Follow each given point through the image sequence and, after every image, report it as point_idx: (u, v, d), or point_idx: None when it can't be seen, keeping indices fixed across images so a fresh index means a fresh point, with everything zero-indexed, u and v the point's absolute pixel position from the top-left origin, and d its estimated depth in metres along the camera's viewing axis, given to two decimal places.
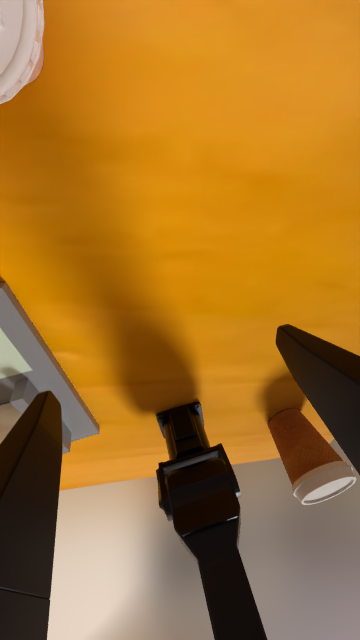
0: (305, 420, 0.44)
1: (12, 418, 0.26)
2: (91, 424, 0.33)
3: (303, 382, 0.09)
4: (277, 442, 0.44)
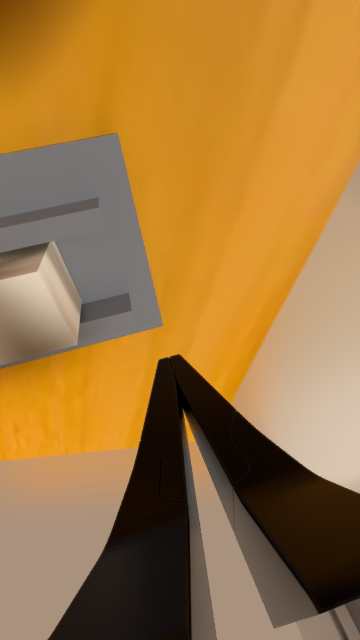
0: None
1: None
2: (75, 146, 0.14)
3: (187, 417, 0.09)
4: None
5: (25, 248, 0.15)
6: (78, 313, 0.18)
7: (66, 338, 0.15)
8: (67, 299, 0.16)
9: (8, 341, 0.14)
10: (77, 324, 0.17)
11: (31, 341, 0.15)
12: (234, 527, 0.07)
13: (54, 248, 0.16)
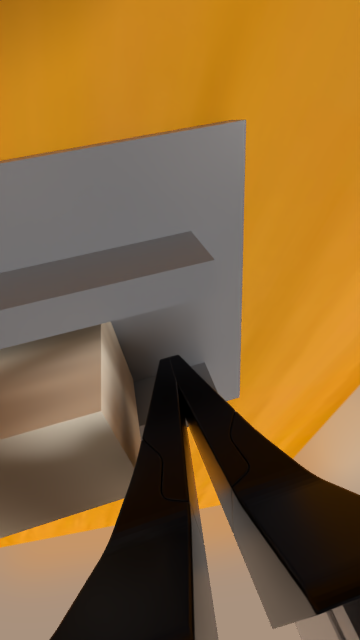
0: None
1: None
2: (168, 142, 0.08)
3: (186, 417, 0.09)
4: None
5: None
6: (136, 412, 0.11)
7: None
8: (127, 405, 0.09)
9: (31, 506, 0.08)
10: (139, 439, 0.10)
11: (72, 499, 0.08)
12: (233, 527, 0.07)
13: None
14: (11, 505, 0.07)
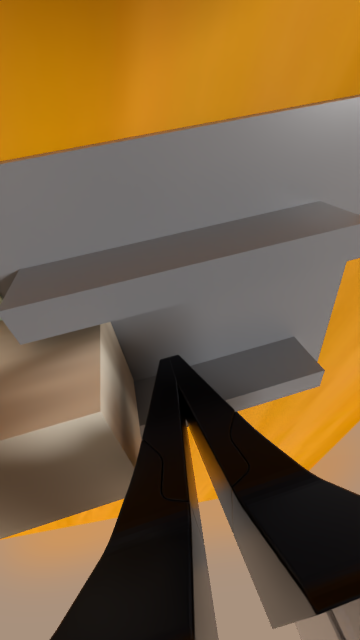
0: None
1: None
2: (325, 111, 0.08)
3: (186, 417, 0.09)
4: None
5: None
6: (136, 412, 0.11)
7: None
8: (127, 405, 0.09)
9: (32, 507, 0.08)
10: (140, 439, 0.10)
11: (72, 500, 0.08)
12: (233, 527, 0.07)
13: None
14: (12, 506, 0.07)
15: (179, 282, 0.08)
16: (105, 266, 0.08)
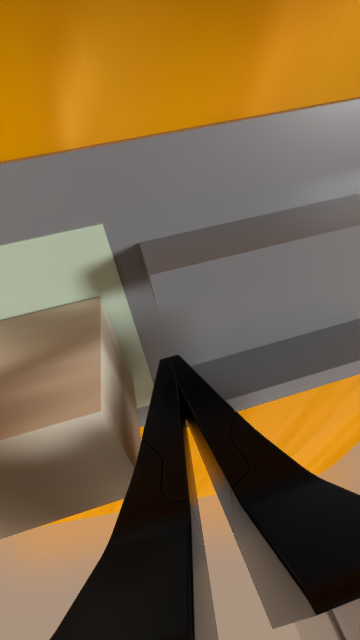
0: None
1: None
2: None
3: (186, 417, 0.09)
4: None
5: (59, 325, 0.09)
6: (135, 412, 0.11)
7: None
8: (127, 406, 0.09)
9: (31, 507, 0.08)
10: (139, 439, 0.10)
11: (72, 499, 0.08)
12: (233, 527, 0.07)
13: (105, 318, 0.10)
14: (12, 506, 0.07)
15: (307, 251, 0.08)
16: (230, 237, 0.08)
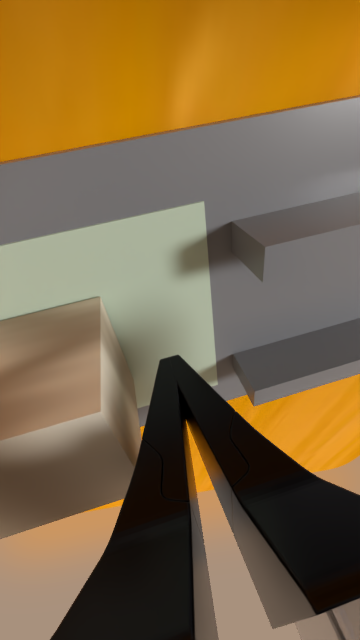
0: None
1: None
2: None
3: (186, 417, 0.09)
4: None
5: (59, 325, 0.09)
6: (136, 412, 0.11)
7: None
8: (127, 405, 0.09)
9: (32, 507, 0.08)
10: (140, 439, 0.10)
11: (73, 499, 0.08)
12: (233, 527, 0.07)
13: (105, 318, 0.10)
14: (12, 506, 0.07)
15: None
16: (327, 214, 0.09)
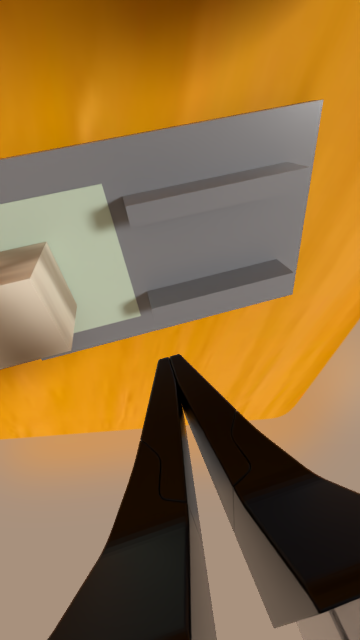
0: None
1: None
2: (285, 111, 0.15)
3: (187, 417, 0.09)
4: None
5: (19, 254, 0.15)
6: (72, 317, 0.18)
7: (60, 344, 0.15)
8: (61, 304, 0.16)
9: (2, 347, 0.14)
10: (72, 329, 0.17)
11: (25, 347, 0.15)
12: (234, 527, 0.07)
13: (48, 253, 0.16)
14: None
15: (210, 196, 0.15)
16: (171, 191, 0.15)
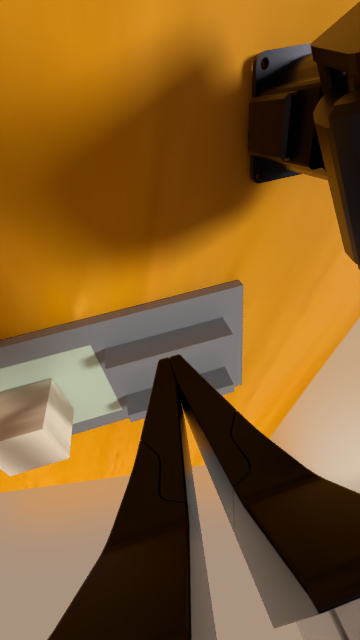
0: None
1: None
2: (217, 294, 0.22)
3: (187, 417, 0.09)
4: None
5: (33, 393, 0.22)
6: (70, 425, 0.25)
7: (61, 456, 0.22)
8: (62, 424, 0.23)
9: (22, 462, 0.21)
10: (70, 438, 0.24)
11: (37, 460, 0.22)
12: (234, 527, 0.07)
13: (53, 387, 0.23)
14: (15, 461, 0.21)
15: (164, 357, 0.22)
16: (138, 349, 0.22)
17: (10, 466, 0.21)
